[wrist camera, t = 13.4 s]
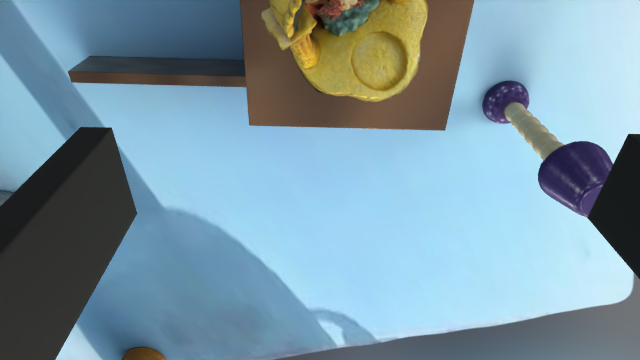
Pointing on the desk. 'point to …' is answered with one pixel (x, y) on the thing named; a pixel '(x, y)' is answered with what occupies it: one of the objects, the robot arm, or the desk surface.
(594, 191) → the toy lamp
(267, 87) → the wood block with slats
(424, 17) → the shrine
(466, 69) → the desk surface
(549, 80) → the desk surface
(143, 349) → the disposable coffee cup
